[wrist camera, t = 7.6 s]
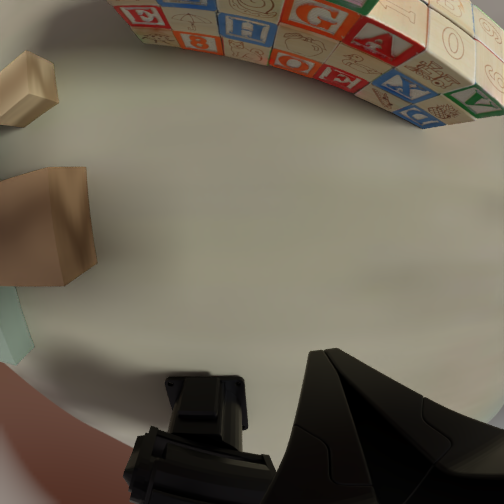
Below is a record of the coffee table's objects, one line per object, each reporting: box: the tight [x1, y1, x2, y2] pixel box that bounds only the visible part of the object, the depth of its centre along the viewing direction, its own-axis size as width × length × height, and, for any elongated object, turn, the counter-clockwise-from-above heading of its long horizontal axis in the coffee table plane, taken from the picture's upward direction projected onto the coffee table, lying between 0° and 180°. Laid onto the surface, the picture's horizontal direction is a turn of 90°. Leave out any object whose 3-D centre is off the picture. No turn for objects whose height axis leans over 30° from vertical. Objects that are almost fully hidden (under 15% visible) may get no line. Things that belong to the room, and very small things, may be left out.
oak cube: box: [0, 50, 59, 128], centre depth 14 cm, size 4×4×4 cm
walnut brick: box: [0, 167, 97, 286], centre depth 16 cm, size 7×10×5 cm
